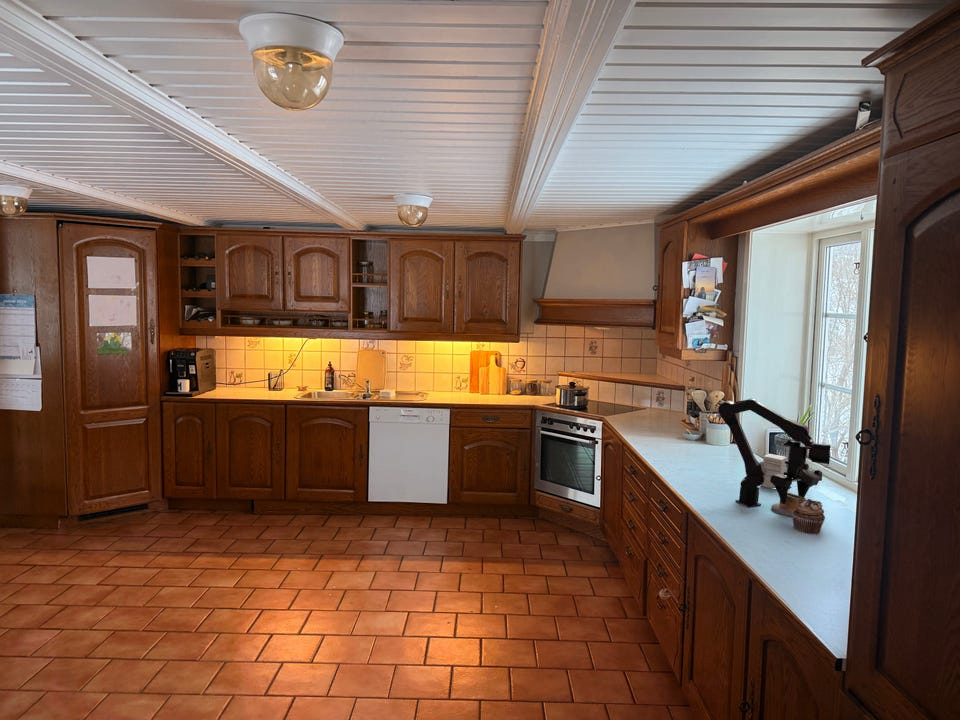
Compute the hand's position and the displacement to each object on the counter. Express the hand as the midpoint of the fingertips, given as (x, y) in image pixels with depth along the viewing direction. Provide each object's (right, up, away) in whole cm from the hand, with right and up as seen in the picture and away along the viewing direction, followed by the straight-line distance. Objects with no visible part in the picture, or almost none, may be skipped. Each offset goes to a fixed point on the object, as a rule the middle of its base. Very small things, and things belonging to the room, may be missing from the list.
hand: (792, 502), depth 235 cm
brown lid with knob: (0, -4, 0) cm, 4 cm away
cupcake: (-4, -5, -18) cm, 19 cm away
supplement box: (+8, -1, +33) cm, 34 cm away
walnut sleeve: (0, -3, 0) cm, 3 cm away
